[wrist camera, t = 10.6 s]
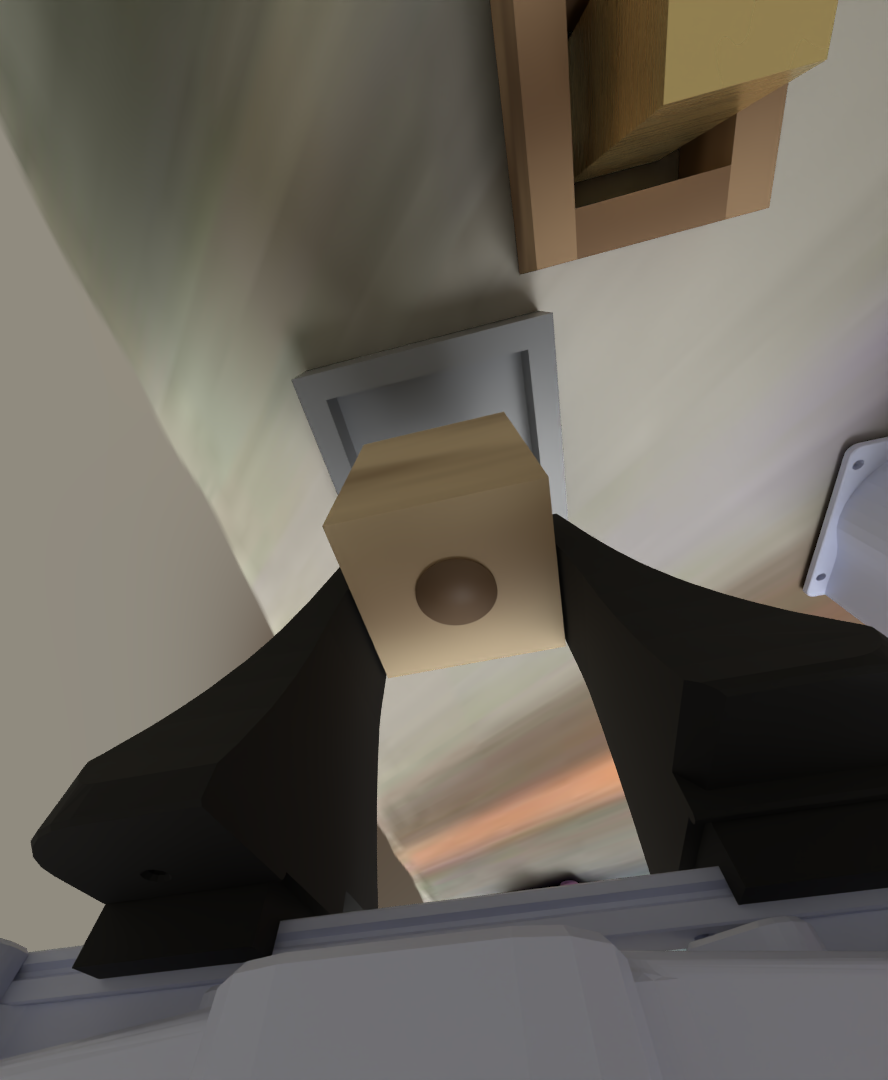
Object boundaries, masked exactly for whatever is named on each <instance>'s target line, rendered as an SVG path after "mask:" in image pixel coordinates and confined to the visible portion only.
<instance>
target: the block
mask: <svg viewBox="0 0 888 1080" xmlns="http://www.w3.org/2000/svg"><path fill="white" fill-rule="evenodd" d="M322 527H323V529H324V531H325V534H326V536H327V538H328V540H329V543H330V545H331V547H332V550H333V552H334V554H335V557H336V559H337V561H338V564H339V566H340V568H341V570H342V573H343V575H344V577H345V580H346V582H347V584H348V587H349V589H350V591H351V593H352V596H353V598H354V600H355V603H356V605H357V607H358V610H359V612H360V614H361V616H362V619H363V621H364V623H365V626H366V628H367V630H368V633H369V635H370V637H371V640H372V642H373V644H374V646H375V649H376V651H377V653H378V656H379V658H380V660H381V663H382V665H383V667H384V669H385V672H386V674H387V676H388V678H392V677H398V676H403V675H409V674H414V673H420V672H426V671H431V670H437V669H442V668H448V667H453V666H459V665H465V664H470V663H476V662H481V661H487V660H492V659H498V658H504V657H509V656H515V655H520V654H526V653H531V652H537V651H543V650H548V649H554V648H559V647H565V646H566V644H565V634H564V624H563V614H562V604H561V595H560V585H559V575H558V565H557V555H556V545H555V535H554V525H553V515H552V506H551V496H550V486H549V477H548V475H547V474H546V472H545V471H544V469H543V468H542V467H541V465H540V464H539V462H538V461H537V459H536V458H535V456H534V455H533V453H532V452H531V451H530V449H529V448H528V446H527V445H526V443H525V442H524V440H523V439H522V437H521V436H520V435H519V433H518V432H517V430H516V429H515V427H514V426H513V424H512V423H511V421H510V420H509V419H508V417H507V416H506V414H505V413H504V412H500V413H496V414H492V415H487V416H483V417H479V418H475V419H471V420H466V421H462V422H458V423H454V424H449V425H445V426H441V427H437V428H432V429H428V430H424V431H420V432H415V433H411V434H407V435H403V436H398V437H394V438H390V439H386V440H382V441H377V442H373V443H369V444H365V445H363V447H362V449H361V451H360V453H359V455H358V457H357V459H356V461H355V463H354V465H353V467H352V469H351V471H350V473H349V475H348V477H347V479H346V481H345V483H344V485H343V487H342V489H341V491H340V493H339V495H338V496H337V498H336V500H335V502H334V504H333V506H332V508H331V510H330V512H329V514H328V516H327V518H326V520H325V522H324V524H323V526H322Z"/></svg>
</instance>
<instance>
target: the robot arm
mask: <svg viewBox="0 0 888 1080" xmlns="http://www.w3.org/2000/svg"><path fill="white" fill-rule="evenodd" d="M855 462H856V463H855ZM854 463H855V464H854ZM853 464H854V465H853ZM552 515H553V525H554V535H555V545H556V555H557V565H558V575H559V585H560V595H561V604H562V614H563V624H564V634H565V639H566V642H567V644H568V646H569V648H570V650H571V652H572V654H573V656H574V658H575V660H576V663H577V665H578V667H579V669H580V671H581V673H582V675H583V678H584V680H585V682H586V685H587V687H588V689H589V692H590V695H591V697H592V700H593V703H594V706H595V709H596V712H597V714H598V717H599V720H600V723H601V726H602V728H603V731H604V734H605V737H606V740H607V743H608V746H609V749H610V752H611V755H612V758H613V761H614V763H615V766H616V769H617V772H618V775H619V778H620V781H621V784H622V787H623V791H624V794H625V797H626V800H627V803H628V806H629V809H630V812H631V815H632V818H633V821H634V824H635V827H636V830H637V834H638V837H639V840H640V843H641V846H642V849H643V853H644V856H645V859H646V862H647V865H648V868H649V872H650V875H643V876H635V877H627V878H619V879H611V880H603V881H595V882H587V883H579V884H571V885H563V886H555V887H547V888H539V889H531V890H523V891H515V892H507V893H499V894H491V895H483V896H475V897H467V898H459V899H451V900H443V901H435V902H427V903H419V904H411V905H403V906H395V907H387V908H379V909H378V889H377V775H378V747H379V726H380V716H381V708H382V701H383V694H384V688H385V681H386V672H385V669H384V667H383V665H382V663H381V660H380V658H379V656H378V653H377V651H376V649H375V646H374V644H373V642H372V640H371V637H370V635H369V633H368V630H367V628H366V626H365V623H364V621H363V619H362V616H361V614H360V612H359V610H358V607H357V605H356V603H355V600H354V598H353V596H352V593H351V591H350V589H349V587H348V584H347V582H346V580H345V577H344V575H343V573H342V570H341V568H340V567H339V569H338V570H337V571H336V572H335V573H334V574H333V575H332V576H331V578H330V579H329V580H328V581H327V582H326V583H325V584H324V585H323V587H322V588H321V589H320V590H319V591H318V592H317V593H316V594H315V595H314V597H313V598H312V599H311V600H310V601H309V602H308V603H307V604H306V605H305V606H304V607H303V608H302V609H301V610H300V611H299V612H298V613H297V614H296V615H295V616H294V617H293V619H292V620H291V621H290V622H289V623H288V624H287V625H286V626H285V627H284V628H283V629H282V630H281V631H279V632H278V633H277V634H276V635H275V636H274V637H273V638H272V639H271V640H270V641H269V642H267V643H266V644H265V645H264V646H263V647H262V648H261V649H259V650H258V651H257V652H256V653H255V654H254V655H252V656H251V657H250V658H249V659H248V660H246V661H245V662H244V663H242V664H241V665H240V666H238V667H237V668H236V669H234V670H233V671H232V672H230V673H229V674H228V675H227V676H225V677H224V678H222V679H221V680H220V681H218V682H217V683H216V684H214V685H213V686H212V687H210V688H209V689H208V690H206V691H205V692H203V693H202V694H200V695H199V696H197V697H196V698H195V699H193V700H192V701H190V702H188V703H187V704H186V705H184V706H182V707H181V708H179V709H178V710H176V711H175V712H173V713H172V714H170V715H168V716H167V717H165V718H164V719H162V720H160V721H159V722H157V723H155V724H154V725H152V726H151V727H149V728H147V729H146V730H144V731H142V732H140V733H139V734H137V735H135V736H133V737H131V738H130V739H128V740H126V741H125V742H123V743H121V744H119V745H118V746H116V747H114V748H112V749H111V750H109V751H107V752H105V753H104V754H102V755H100V756H98V757H96V758H94V759H93V760H91V761H89V762H88V763H87V764H86V765H85V767H84V768H83V769H82V770H81V772H80V773H79V775H78V776H77V778H76V779H75V780H74V782H73V783H72V784H71V786H70V787H69V788H68V790H67V792H66V793H65V794H64V795H63V797H62V798H61V800H60V801H59V802H58V804H57V805H56V806H55V808H54V809H53V810H52V812H51V813H50V814H49V816H48V817H47V818H46V820H45V821H44V823H43V824H42V825H41V827H40V828H39V829H38V831H37V832H36V834H35V835H34V837H33V838H32V840H31V847H32V853H33V857H34V859H35V860H36V861H37V862H38V864H39V865H40V866H41V867H42V868H43V869H45V870H46V871H48V872H49V873H51V874H52V875H54V876H55V877H57V878H59V879H61V880H62V881H64V882H66V883H68V884H69V885H71V886H73V887H75V888H77V889H78V890H80V891H82V892H84V893H86V894H88V895H89V896H91V897H93V898H95V899H96V900H98V901H100V902H102V903H104V904H106V905H105V906H104V908H103V910H102V912H101V914H100V916H99V918H98V920H97V922H96V923H95V925H94V927H93V929H92V931H91V933H90V935H89V936H88V938H87V940H86V942H85V944H84V945H83V946H75V947H67V948H59V949H51V950H43V951H35V952H27V949H26V948H25V947H23V946H21V945H19V944H17V943H14V942H12V941H9V940H5V939H2V938H0V1080H888V437H884V438H879V439H875V440H870V441H865V442H861V443H857V444H854V445H852V446H851V447H849V448H848V449H847V451H846V452H845V454H844V457H843V460H842V464H841V467H840V470H839V473H838V477H837V480H836V483H835V486H834V490H833V493H832V496H831V499H830V503H829V506H828V509H827V512H826V516H825V519H824V522H823V525H822V529H821V532H820V535H819V538H818V542H817V545H816V548H815V551H814V555H813V558H812V561H811V564H810V568H809V571H808V574H807V577H806V581H805V584H804V587H803V591H804V592H805V593H806V594H807V595H808V596H818V595H824V594H825V595H827V596H828V597H829V598H831V599H832V600H833V601H835V602H836V603H837V604H839V605H840V606H841V607H843V608H844V609H845V610H847V611H848V612H849V613H851V614H852V615H853V616H855V617H856V618H857V619H859V620H860V621H861V622H862V623H864V624H865V625H861V624H856V623H851V622H845V621H840V620H835V619H829V618H824V617H819V616H813V615H808V614H803V613H797V612H793V611H788V610H784V609H780V608H776V607H772V606H768V605H764V604H759V603H755V602H751V601H747V600H744V599H740V598H737V597H733V596H729V595H726V594H723V593H720V592H716V591H713V590H710V589H707V588H704V587H701V586H698V585H695V584H692V583H689V582H686V581H683V580H681V579H678V578H675V577H673V576H670V575H668V574H666V573H663V572H661V571H658V570H656V569H653V568H651V567H649V566H647V565H644V564H642V563H640V562H638V561H636V560H634V559H632V558H630V557H628V556H626V555H624V554H622V553H620V552H618V551H616V550H614V549H613V548H611V547H609V546H607V545H606V544H604V543H602V542H600V541H599V540H597V539H595V538H594V537H592V536H590V535H589V534H587V533H586V532H584V531H582V530H581V529H579V528H578V527H576V526H575V525H573V524H572V523H570V522H569V521H567V520H566V519H564V518H563V517H561V516H560V515H558V514H557V513H556V514H552ZM686 948H687V950H686V951H668V950H677V949H686Z"/></svg>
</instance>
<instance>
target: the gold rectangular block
mask: <svg viewBox="0 0 888 1080" xmlns="http://www.w3.org/2000/svg"><path fill="white" fill-rule="evenodd" d="M837 4H838V0H590V1H589V3H588V5H587V7H586V9H585V10H584V12H583V14H582V16H581V18H580V20H579V22H578V23H577V25H576V27H575V29H574V31H573V33H572V35H571V36H570V38H569V40H568V64H569V87H570V109H571V131H572V153H573V175H574V183H576V182H580V181H583V180H587V179H591V178H595V177H598V176H602V175H606V174H609V173H613V172H617V171H621V170H624V169H628V168H632V167H636V166H639V165H643V164H647V163H651V162H654V161H658V160H660V159H661V158H663V157H665V156H666V155H668V154H670V153H671V152H673V151H675V150H676V149H678V148H680V147H681V146H683V145H685V144H686V143H688V142H690V141H691V140H693V139H695V138H696V137H698V136H700V135H701V134H703V133H705V132H706V131H708V130H710V129H711V128H713V127H715V126H716V125H718V124H720V123H721V122H723V121H725V120H726V119H728V118H730V117H731V116H733V115H735V114H736V113H738V112H740V111H741V110H743V109H745V108H746V107H748V106H750V105H751V104H753V103H755V102H756V101H758V100H760V99H761V98H763V97H765V96H766V95H768V94H770V93H771V92H773V91H775V90H776V89H778V88H780V87H781V86H783V85H785V84H786V83H788V82H790V81H791V80H793V79H795V78H796V77H798V76H800V75H801V74H803V73H805V72H806V71H808V70H810V69H812V68H813V67H815V66H817V65H818V64H820V63H822V62H823V61H825V60H827V55H828V50H829V45H830V40H831V35H832V30H833V25H834V19H835V14H836V9H837Z"/></svg>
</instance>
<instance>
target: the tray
mask: <svg viewBox="0 0 888 1080" xmlns="http://www.w3.org/2000/svg"><path fill="white" fill-rule="evenodd" d="M292 383H293V385H294V388H295V390H296V393H297V395H298V398H299V400H300V402H301V405H302V407H303V410H304V412H305V415H306V417H307V420H308V422H309V425H310V427H311V430H312V432H313V435H314V437H315V440H316V442H317V445H318V447H319V449H320V452H321V454H322V457H323V459H324V462H325V464H326V467H327V469H328V472H329V474H330V477H331V479H332V482H333V484H334V487H335V489H336V492H337V494H338V495H339V493H340V491H341V489H342V487H343V485H344V483H345V481H346V479H347V477H348V475H349V473H350V471H351V469H352V467H353V465H354V463H355V461H356V459H357V457H358V455H359V453H360V451H361V449H362V447H363V445H365V444H369V443H373V442H377V441H382V440H386V439H390V438H394V437H398V436H403V435H407V434H411V433H415V432H420V431H424V430H428V429H432V428H437V427H441V426H445V425H449V424H454V423H458V422H462V421H466V420H471V419H475V418H479V417H483V416H487V415H492V414H496V413H500V412H504V413H505V414H506V416H507V417H508V419H509V420H510V421H511V423H512V424H513V426H514V427H515V429H516V430H517V432H518V433H519V435H520V436H521V437H522V439H523V440H524V442H525V443H526V445H527V446H528V448H529V449H530V451H531V452H532V453H533V455H534V456H535V458H536V459H537V461H538V462H539V464H540V465H541V467H542V468H543V469H544V471H545V472H546V474H547V475H548V477H549V486H550V496H551V506H552V514H556V513H557V514H558V515H560V516H561V517H563V518H564V519H566V520H567V521H568V510H567V497H566V484H565V470H564V457H563V444H562V430H561V417H560V404H559V390H558V377H557V364H556V350H555V337H554V324H553V313H551V312H543V311H536V312H533V313H529V314H525V315H521V316H517V317H513V318H509V319H505V320H502V321H498V322H494V323H490V324H486V325H482V326H478V327H475V328H471V329H467V330H463V331H459V332H455V333H451V334H448V335H444V336H440V337H436V338H432V339H428V340H424V341H421V342H417V343H413V344H409V345H405V346H401V347H397V348H393V349H390V350H386V351H382V352H378V353H374V354H370V355H366V356H363V357H359V358H355V359H351V360H347V361H343V362H339V363H336V364H332V365H328V366H324V367H320V368H316V369H312V370H308V371H306V372H304V373H302V374H301V375H299V376H297V377H296V378H294V379H292Z"/></svg>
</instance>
